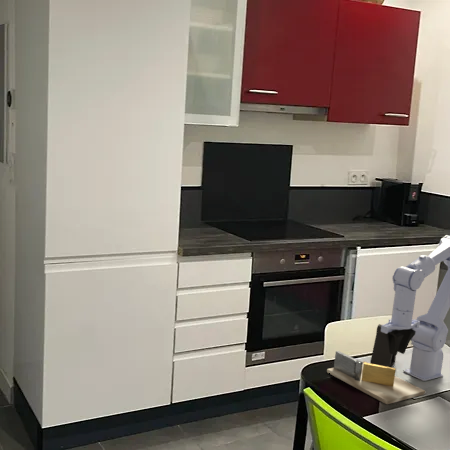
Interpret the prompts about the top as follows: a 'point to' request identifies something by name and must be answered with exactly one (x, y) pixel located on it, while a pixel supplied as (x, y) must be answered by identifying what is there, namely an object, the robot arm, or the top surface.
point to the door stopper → (382, 350)
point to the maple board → (381, 388)
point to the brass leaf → (378, 374)
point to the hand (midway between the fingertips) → (396, 353)
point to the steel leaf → (348, 365)
